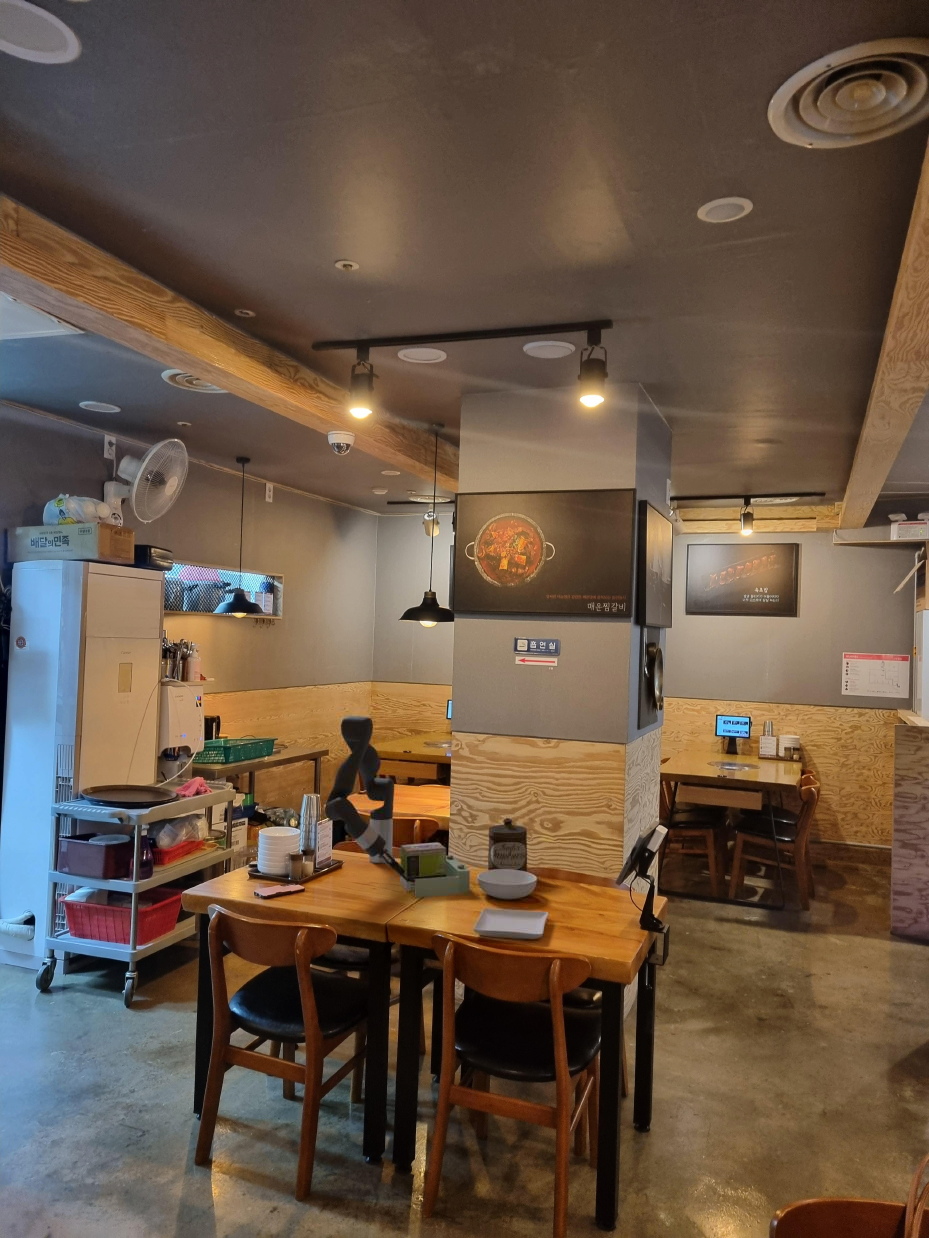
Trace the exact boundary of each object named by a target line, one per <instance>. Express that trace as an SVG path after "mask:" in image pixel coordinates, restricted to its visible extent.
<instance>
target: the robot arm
mask: <svg viewBox="0 0 929 1238" xmlns="http://www.w3.org/2000/svg"><path fill="white" fill-rule="evenodd" d="M340 732H341V736H342V738H343V740H344V742H345V743H346V746H347V747H348V749H349V751H350V752H351V753H350V754H349V756H348V757H346V758H345V759H344V761H343V762H342V763H341V764H340V766H339V767H338V769H337V772H336V775H335V779H334V783H333V787H332V789H331V792H330V794H329V795H328V798H327V799H326V803H325V806H324V814H325V816H326V818H327V819H329V820H330V821H339V820H342V821H343V822H344V823H345V824H344V830H345V831H346V832H347V833H348V835H349V836H350V837H351V838H352V839H354V842H355V841H356V843H357V845H359V847H361V849H363V851H364V852H366V853H367V854H368V855H369V856H368V858H369V862H371V863H375V864H384V863H385V864H386V865H387V866H388V867H389V866H390V867H391V869H392V870H395V872H397V873H398V874H399V875H400V876H401V875H403V874H404V873H405V870H404V869H403V868H402V867H401V864H399V862H398V861H397V860H396V858H395V857H394V856H393V828H394V827H393V826H394V825H393V821H394V820H393V817H394V797H395V782H394V780H393V778H387V777H386V778H384V777H383V778H382V777H375V776H377V774H378V773H379V770H380V768H381V764H382V762H381V758H380V756H379V754H378V753H379V752H378V751H377V749H376V748H375V747H374V746H373V745H371V744H370V742H371V739H372V735H373V732H374V724H373V720H372V719H371V717H367V716H360V715H359V716H358V715H357V716H356V715H350V716H349V715H348V716H345V717H344V718H343V719H342V721H341V724H340ZM358 772H359V773H360V776H361V779H362V781H363V782H362V783H363V785H364V789H365V793H366V796H367V798H368V800H370V801H374V802H383V805H382V806H380V807H377V808H374V809H372V810H370V812H369V823H368V822H366V820H364V819H363V818H362V817H361V816H360V814H359V812H358V811H357V809H356V807H355V805H354V803H352V801H350V799H348V797H349V796H350V795H351V794H352V793H353V791H354V787H355V783H356V780H357V775H358Z"/></svg>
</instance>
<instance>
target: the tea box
mask: <svg viewBox="0 0 929 1238" xmlns="http://www.w3.org/2000/svg"><path fill="white" fill-rule="evenodd" d="M446 856H447V847H445V846H444V845H442V844H441V843H440V842H428V843H413V844H403V845H402V844H400V866H401V867H402V868H403V869H404V870H405V873H404V874H403V875H400V886H402V888H403V889H404V890H405V891H406V892H413V891H414V892H415V879H423V878H437V877H446Z"/></svg>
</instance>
